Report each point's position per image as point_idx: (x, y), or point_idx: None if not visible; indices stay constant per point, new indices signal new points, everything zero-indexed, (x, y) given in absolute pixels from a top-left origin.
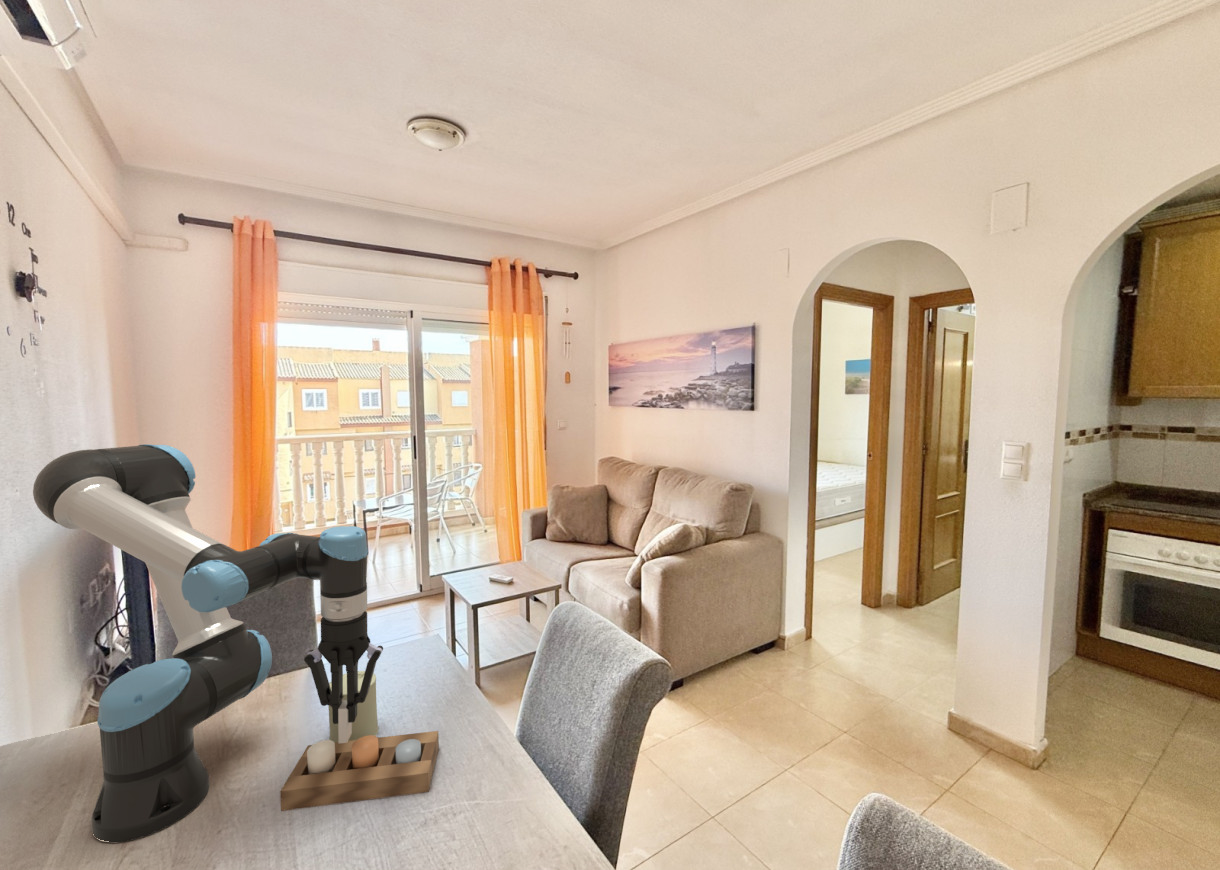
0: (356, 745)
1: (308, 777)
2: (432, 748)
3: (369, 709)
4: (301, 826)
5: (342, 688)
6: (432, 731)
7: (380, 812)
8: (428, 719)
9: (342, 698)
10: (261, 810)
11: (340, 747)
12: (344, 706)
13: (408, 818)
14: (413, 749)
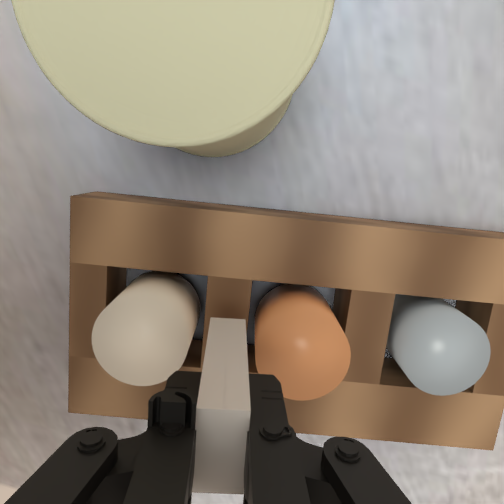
0: (272, 364)
1: None
2: None
3: (285, 103)
4: None
5: (186, 489)
6: None
7: None
8: (479, 41)
9: (194, 428)
10: (39, 363)
11: (195, 243)
12: (222, 471)
13: (411, 483)
14: (464, 376)
